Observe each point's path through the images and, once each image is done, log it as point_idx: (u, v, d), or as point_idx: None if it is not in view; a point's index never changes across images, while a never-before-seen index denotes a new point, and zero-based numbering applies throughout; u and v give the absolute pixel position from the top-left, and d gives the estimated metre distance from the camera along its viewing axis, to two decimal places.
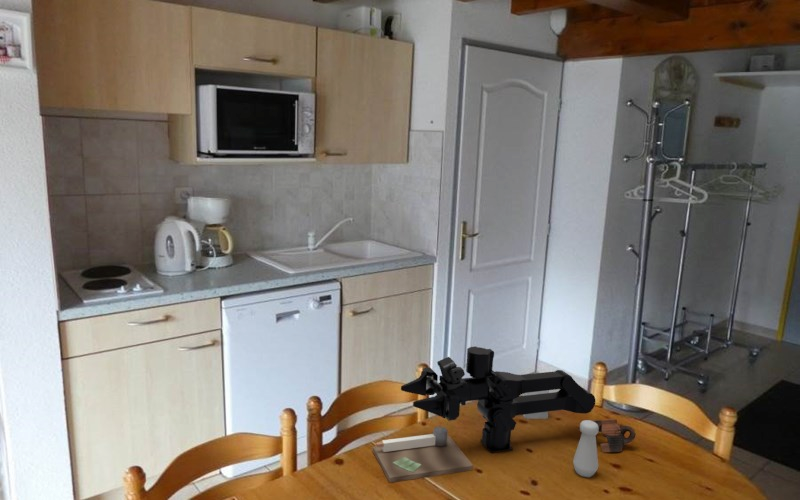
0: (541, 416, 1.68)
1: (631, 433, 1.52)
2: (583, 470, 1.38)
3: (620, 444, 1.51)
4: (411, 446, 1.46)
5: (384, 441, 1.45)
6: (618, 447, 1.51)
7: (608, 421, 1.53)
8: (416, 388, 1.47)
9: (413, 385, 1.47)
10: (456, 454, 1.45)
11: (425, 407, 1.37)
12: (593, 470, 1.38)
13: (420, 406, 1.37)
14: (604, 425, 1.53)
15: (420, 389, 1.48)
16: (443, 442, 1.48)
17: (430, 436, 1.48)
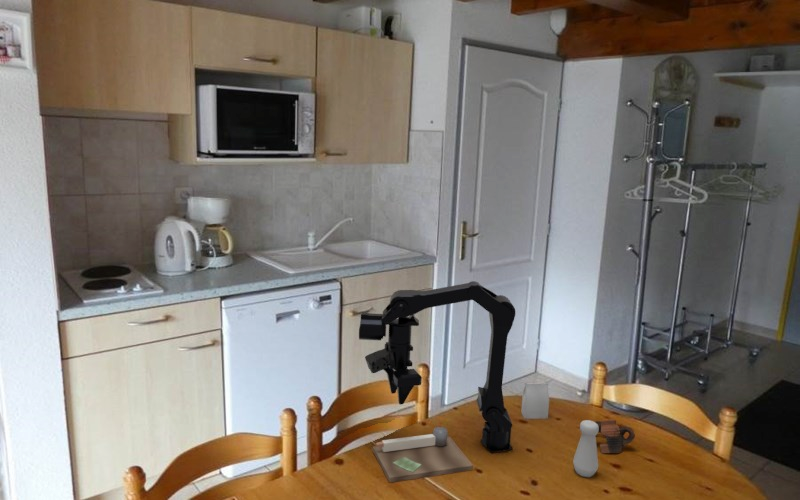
0: (541, 416, 1.68)
1: (630, 433, 1.51)
2: (583, 470, 1.38)
3: (620, 444, 1.51)
4: (411, 446, 1.46)
5: (384, 441, 1.45)
6: (617, 448, 1.50)
7: (607, 422, 1.53)
8: None
9: None
10: (456, 454, 1.45)
11: (405, 395, 1.46)
12: (593, 470, 1.38)
13: (404, 398, 1.46)
14: (603, 426, 1.52)
15: None
16: (443, 442, 1.48)
17: (430, 436, 1.48)
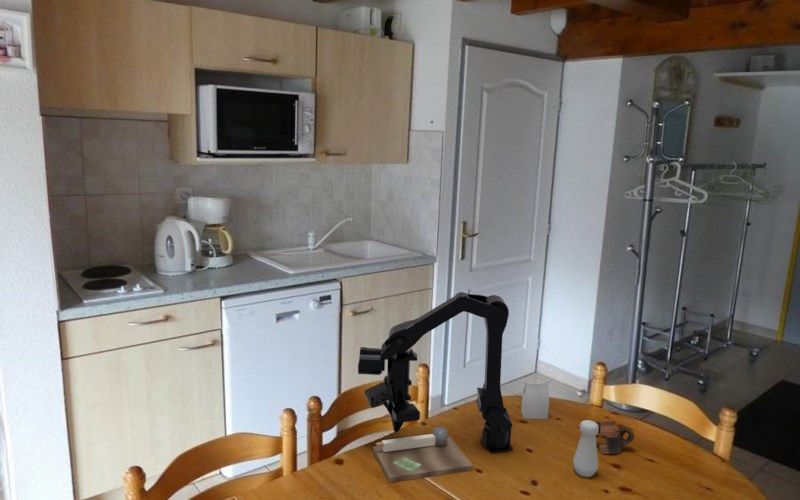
0: (541, 416, 1.68)
1: (630, 434, 1.51)
2: (583, 470, 1.38)
3: (619, 445, 1.50)
4: (411, 446, 1.46)
5: (384, 441, 1.45)
6: (616, 448, 1.50)
7: (607, 422, 1.52)
8: None
9: None
10: (456, 454, 1.45)
11: (400, 423, 1.50)
12: (593, 470, 1.38)
13: (399, 426, 1.51)
14: (603, 426, 1.52)
15: None
16: (443, 442, 1.48)
17: (430, 436, 1.48)
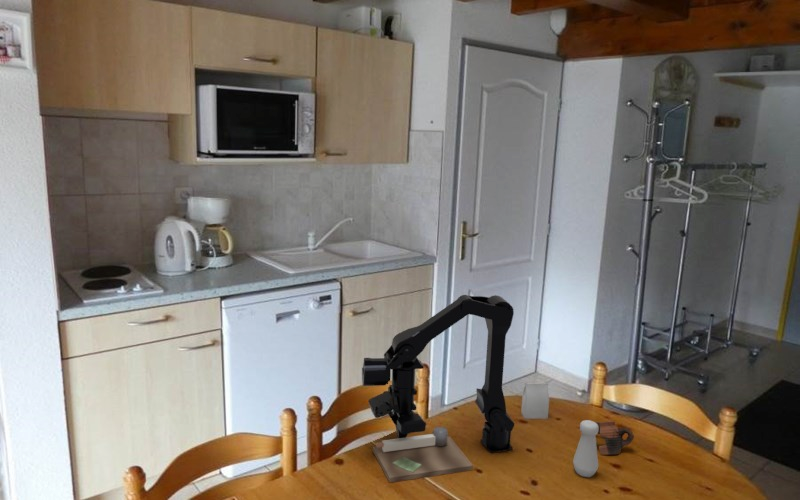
0: (541, 416, 1.68)
1: (629, 435, 1.51)
2: (583, 470, 1.38)
3: (619, 446, 1.50)
4: (411, 446, 1.46)
5: (384, 441, 1.45)
6: (616, 449, 1.50)
7: (606, 423, 1.52)
8: None
9: None
10: (456, 454, 1.45)
11: (405, 433, 1.47)
12: (593, 470, 1.38)
13: (403, 436, 1.47)
14: (602, 427, 1.51)
15: None
16: (443, 442, 1.48)
17: (430, 436, 1.48)
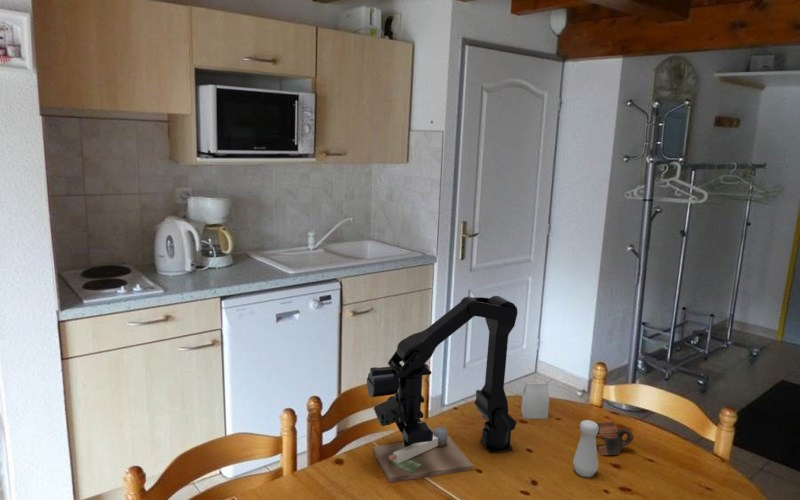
0: (541, 416, 1.68)
1: (629, 435, 1.50)
2: (583, 470, 1.38)
3: (618, 446, 1.50)
4: (419, 452, 1.44)
5: (396, 453, 1.40)
6: (616, 450, 1.49)
7: (606, 424, 1.52)
8: None
9: None
10: (456, 454, 1.45)
11: None
12: (593, 470, 1.38)
13: (409, 443, 1.44)
14: (602, 428, 1.51)
15: None
16: (445, 441, 1.48)
17: (434, 438, 1.47)
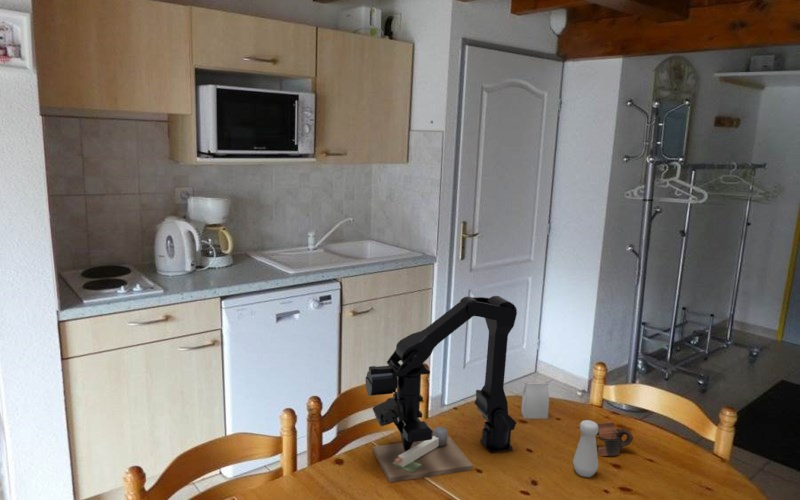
0: (541, 416, 1.68)
1: (628, 436, 1.50)
2: (583, 470, 1.38)
3: (618, 447, 1.49)
4: (422, 453, 1.43)
5: (401, 456, 1.38)
6: (615, 450, 1.49)
7: (605, 424, 1.51)
8: None
9: None
10: (456, 454, 1.45)
11: (411, 441, 1.43)
12: (593, 470, 1.38)
13: (409, 445, 1.43)
14: (601, 428, 1.51)
15: None
16: (446, 441, 1.49)
17: (435, 439, 1.47)
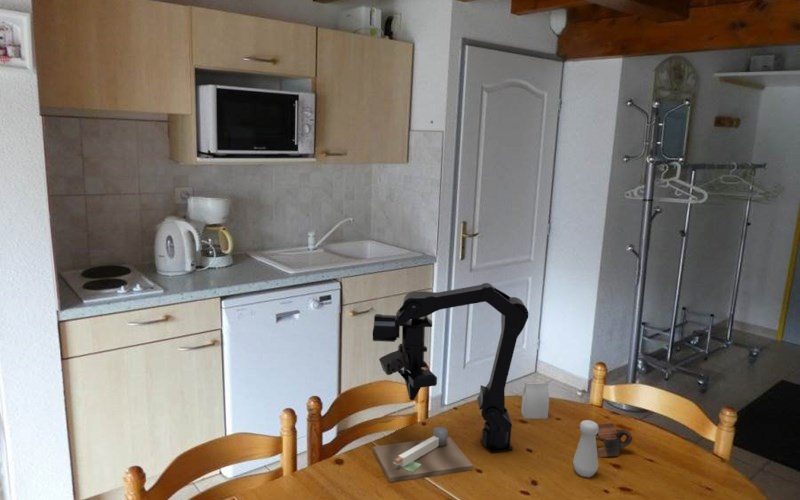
0: (541, 416, 1.68)
1: (628, 436, 1.50)
2: (583, 470, 1.38)
3: (617, 448, 1.49)
4: (422, 453, 1.43)
5: (401, 456, 1.38)
6: (615, 451, 1.49)
7: (604, 425, 1.51)
8: None
9: None
10: (456, 454, 1.45)
11: (416, 391, 1.50)
12: (593, 470, 1.38)
13: (414, 394, 1.50)
14: (601, 429, 1.50)
15: None
16: (446, 441, 1.49)
17: (435, 439, 1.47)
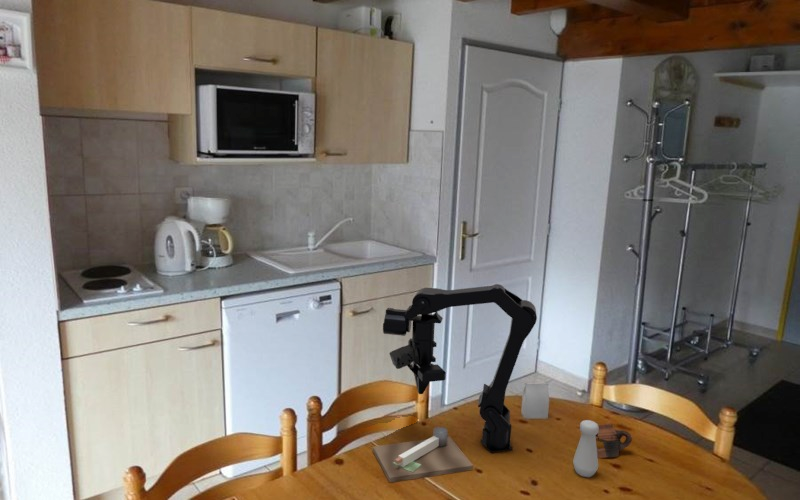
0: (541, 416, 1.68)
1: (627, 437, 1.49)
2: (583, 470, 1.38)
3: (617, 448, 1.49)
4: (422, 453, 1.43)
5: (401, 456, 1.38)
6: (614, 452, 1.48)
7: (604, 426, 1.50)
8: None
9: None
10: (456, 454, 1.45)
11: (425, 385, 1.52)
12: (593, 470, 1.38)
13: (423, 388, 1.53)
14: (600, 430, 1.50)
15: None
16: (446, 441, 1.49)
17: (435, 439, 1.47)
